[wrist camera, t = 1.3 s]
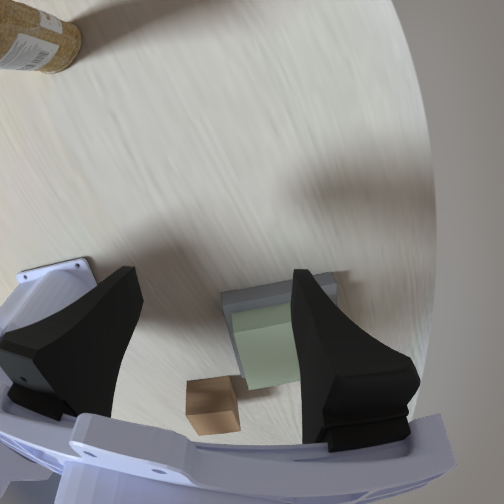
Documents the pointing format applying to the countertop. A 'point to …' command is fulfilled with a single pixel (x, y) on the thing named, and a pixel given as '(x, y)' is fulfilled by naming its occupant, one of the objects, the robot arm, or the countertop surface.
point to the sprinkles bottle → (35, 39)
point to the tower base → (267, 300)
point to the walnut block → (212, 406)
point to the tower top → (266, 346)
